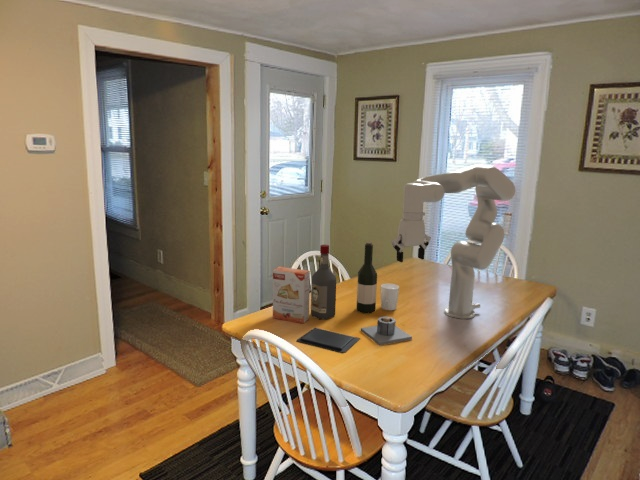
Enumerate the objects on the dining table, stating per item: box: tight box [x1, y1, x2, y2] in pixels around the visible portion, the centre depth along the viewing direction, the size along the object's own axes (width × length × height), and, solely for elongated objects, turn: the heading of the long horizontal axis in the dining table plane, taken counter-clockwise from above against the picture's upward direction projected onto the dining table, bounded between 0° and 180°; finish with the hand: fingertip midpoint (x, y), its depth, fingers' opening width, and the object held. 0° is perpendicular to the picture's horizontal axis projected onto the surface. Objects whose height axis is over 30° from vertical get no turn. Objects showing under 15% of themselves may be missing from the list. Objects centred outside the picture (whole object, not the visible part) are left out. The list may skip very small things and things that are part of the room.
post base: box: [360, 316, 413, 346], centre depth 179 cm, size 14×14×7 cm
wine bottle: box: [356, 241, 378, 314], centre depth 203 cm, size 8×8×30 cm
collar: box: [376, 316, 397, 336], centre depth 179 cm, size 6×6×5 cm
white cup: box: [380, 283, 400, 311], centre depth 208 cm, size 8×8×10 cm
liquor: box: [310, 244, 337, 321], centre depth 195 cm, size 9×9×30 cm
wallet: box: [295, 327, 361, 354], centre depth 175 cm, size 20×2×15 cm
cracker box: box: [272, 266, 311, 324], centre depth 192 cm, size 14×6×21 cm, turn 69°
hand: (410, 260), depth 182 cm, fingers open, 9 cm apart
